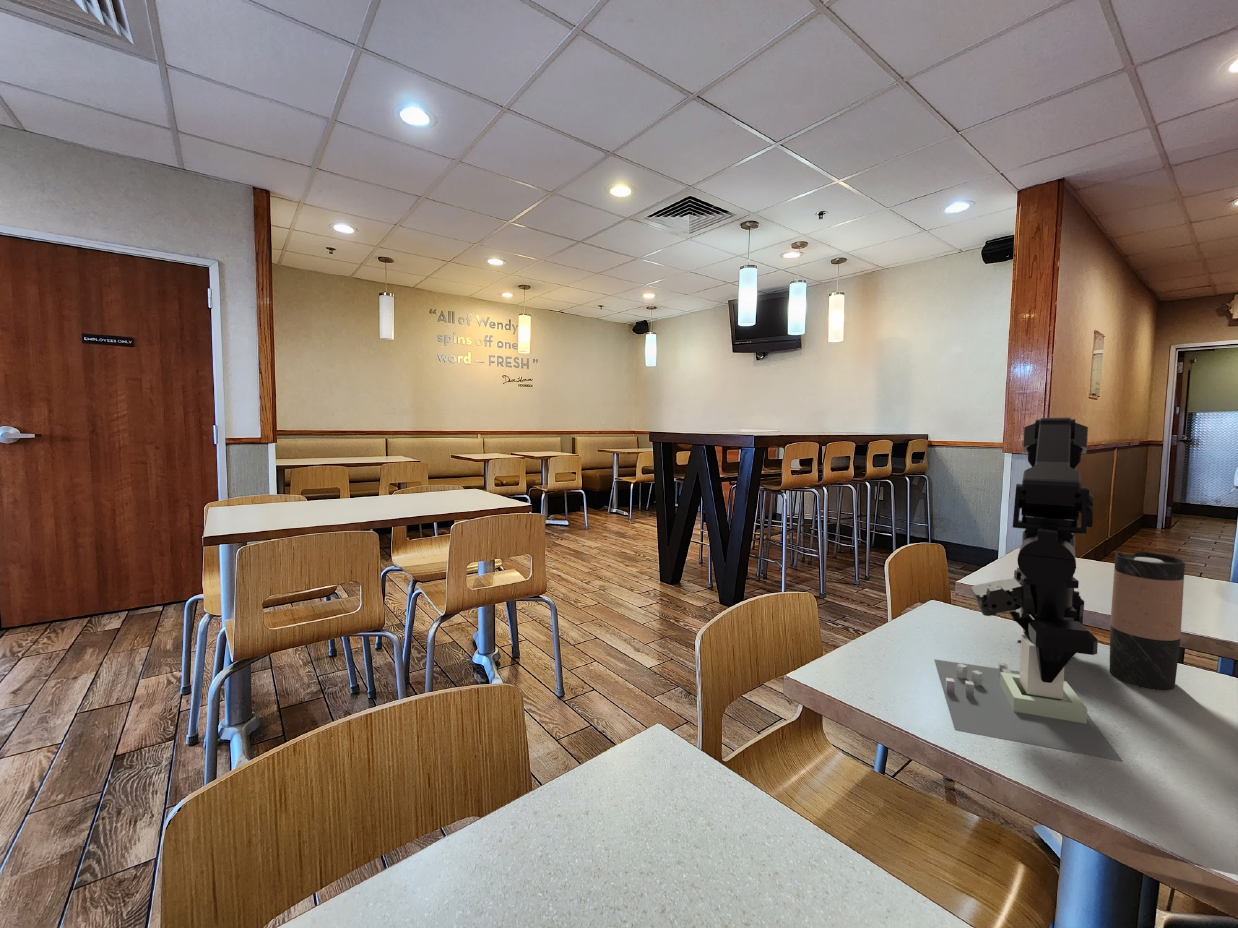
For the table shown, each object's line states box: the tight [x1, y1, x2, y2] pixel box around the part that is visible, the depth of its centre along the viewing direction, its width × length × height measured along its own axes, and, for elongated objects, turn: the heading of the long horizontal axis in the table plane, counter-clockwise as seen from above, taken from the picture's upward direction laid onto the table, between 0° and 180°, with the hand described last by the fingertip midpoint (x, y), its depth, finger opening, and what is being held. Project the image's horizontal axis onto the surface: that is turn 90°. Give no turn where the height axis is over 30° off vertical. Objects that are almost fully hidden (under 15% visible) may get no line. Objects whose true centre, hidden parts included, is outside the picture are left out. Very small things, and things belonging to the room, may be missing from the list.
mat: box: [934, 658, 1124, 762], centre depth 77 cm, size 22×17×1 cm
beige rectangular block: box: [1019, 634, 1065, 699], centre depth 76 cm, size 4×4×7 cm
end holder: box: [1000, 672, 1088, 724], centre depth 76 cm, size 8×8×2 cm
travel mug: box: [1109, 551, 1186, 692], centre depth 82 cm, size 8×8×20 cm
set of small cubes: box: [946, 661, 1012, 698], centre depth 82 cm, size 10×9×2 cm
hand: (1041, 674), depth 76 cm, fingers closed on beige rectangular block, 4 cm apart
